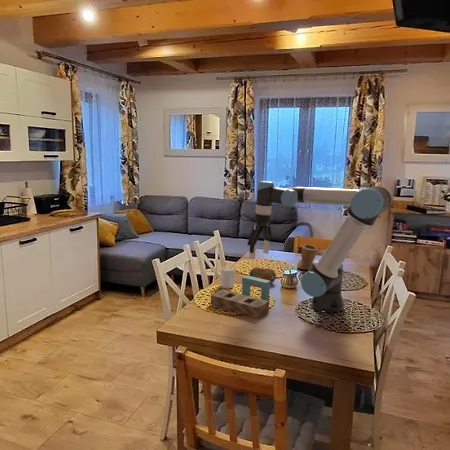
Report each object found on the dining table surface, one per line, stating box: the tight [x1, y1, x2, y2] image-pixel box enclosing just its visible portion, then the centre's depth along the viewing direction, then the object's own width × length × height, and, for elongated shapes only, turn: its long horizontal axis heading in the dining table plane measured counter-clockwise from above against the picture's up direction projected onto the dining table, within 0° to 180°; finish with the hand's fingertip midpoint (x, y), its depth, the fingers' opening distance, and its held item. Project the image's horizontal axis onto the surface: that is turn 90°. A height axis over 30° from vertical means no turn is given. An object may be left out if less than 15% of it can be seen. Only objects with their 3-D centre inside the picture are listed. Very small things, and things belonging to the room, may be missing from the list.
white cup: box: [219, 266, 236, 289], centre depth 220 cm, size 8×8×10 cm
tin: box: [248, 266, 277, 285], centre depth 228 cm, size 15×3×8 cm, turn 68°
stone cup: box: [296, 243, 318, 271], centre depth 258 cm, size 15×12×15 cm
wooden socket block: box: [210, 289, 270, 319], centre depth 190 cm, size 26×10×5 cm, turn 55°
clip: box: [241, 275, 271, 302], centre depth 202 cm, size 14×4×10 cm, turn 55°
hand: (258, 256), depth 198 cm, fingers open, 13 cm apart
